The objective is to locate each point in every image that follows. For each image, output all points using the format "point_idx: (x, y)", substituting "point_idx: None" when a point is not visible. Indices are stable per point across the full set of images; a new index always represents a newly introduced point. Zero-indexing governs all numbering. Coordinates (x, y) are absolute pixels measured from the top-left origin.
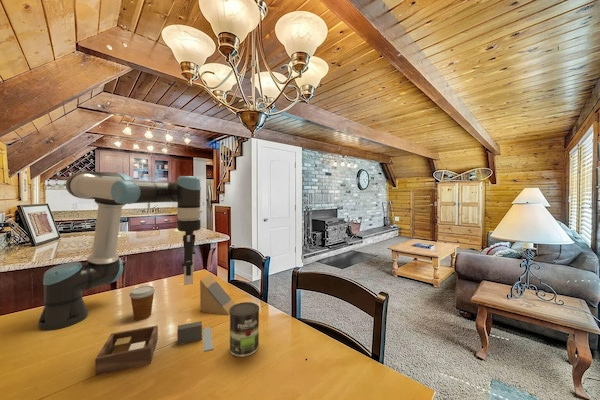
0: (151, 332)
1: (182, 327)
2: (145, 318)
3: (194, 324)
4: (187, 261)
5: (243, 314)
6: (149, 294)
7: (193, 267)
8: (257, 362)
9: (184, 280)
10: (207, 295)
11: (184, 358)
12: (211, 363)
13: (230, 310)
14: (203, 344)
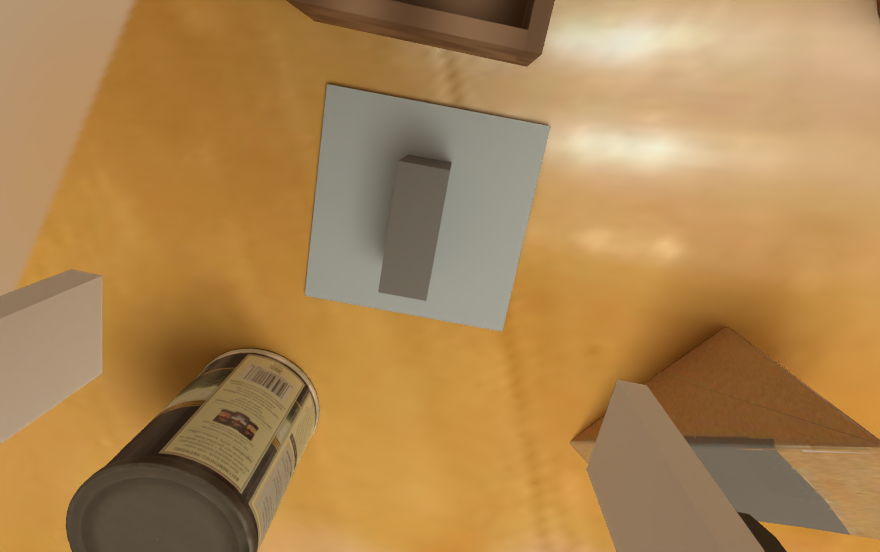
0: (528, 19)
1: (410, 191)
2: (878, 6)
3: (407, 258)
4: (682, 524)
5: (91, 514)
6: None
7: (604, 512)
8: (143, 411)
9: (15, 294)
10: (738, 412)
11: (303, 170)
12: (214, 264)
13: (168, 473)
14: (358, 266)
